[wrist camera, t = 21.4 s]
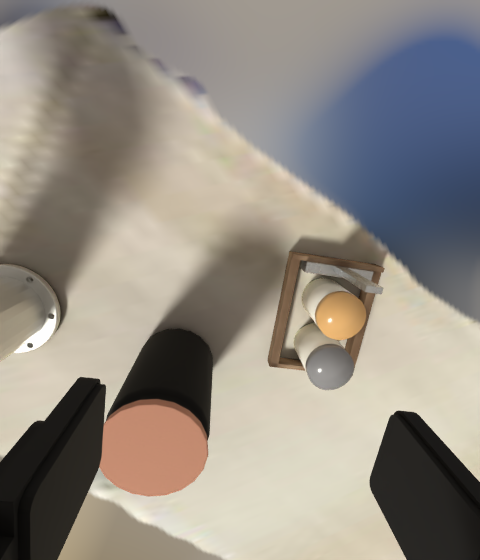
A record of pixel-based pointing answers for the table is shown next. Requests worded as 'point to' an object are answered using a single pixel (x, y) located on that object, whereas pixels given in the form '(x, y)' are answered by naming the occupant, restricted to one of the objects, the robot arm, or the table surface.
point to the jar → (333, 308)
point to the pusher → (344, 275)
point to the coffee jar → (161, 417)
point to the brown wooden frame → (286, 299)
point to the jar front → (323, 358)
